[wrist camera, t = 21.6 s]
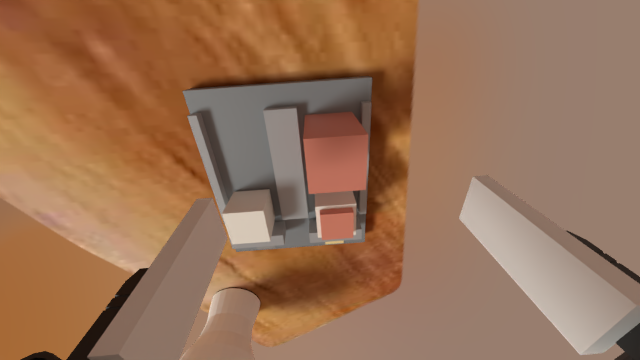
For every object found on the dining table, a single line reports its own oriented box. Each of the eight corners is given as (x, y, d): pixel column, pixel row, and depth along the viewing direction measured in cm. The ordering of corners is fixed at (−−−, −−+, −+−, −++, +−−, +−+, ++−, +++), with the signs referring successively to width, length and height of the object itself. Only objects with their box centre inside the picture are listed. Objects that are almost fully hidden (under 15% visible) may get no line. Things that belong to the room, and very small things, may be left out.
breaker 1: (233, 191, 25) (221, 214, 22) (269, 189, 25) (263, 210, 22) (242, 219, 27) (232, 244, 24) (275, 217, 27) (270, 241, 24)
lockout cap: (308, 158, 24) (308, 194, 18) (304, 115, 22) (303, 139, 16) (351, 155, 24) (365, 189, 18) (351, 111, 22) (368, 134, 16)
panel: (190, 88, 22) (167, 95, 18) (368, 76, 22) (379, 80, 18) (239, 243, 31) (230, 267, 28) (362, 234, 31) (368, 256, 28)
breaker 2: (314, 185, 25) (315, 211, 21) (349, 183, 25) (358, 208, 21) (316, 214, 27) (318, 243, 23) (349, 211, 27) (357, 240, 23)
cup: (267, 281, 36) (243, 415, 22) (270, 320, 41) (252, 447, 28) (197, 281, 35) (129, 419, 22) (209, 321, 40) (160, 452, 27)
